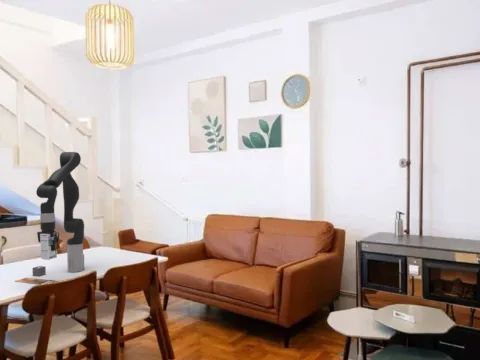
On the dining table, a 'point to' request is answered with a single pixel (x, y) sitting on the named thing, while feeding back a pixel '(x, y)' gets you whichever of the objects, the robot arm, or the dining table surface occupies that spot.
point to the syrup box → (47, 247)
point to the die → (39, 271)
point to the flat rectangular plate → (32, 280)
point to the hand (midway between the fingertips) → (48, 250)
